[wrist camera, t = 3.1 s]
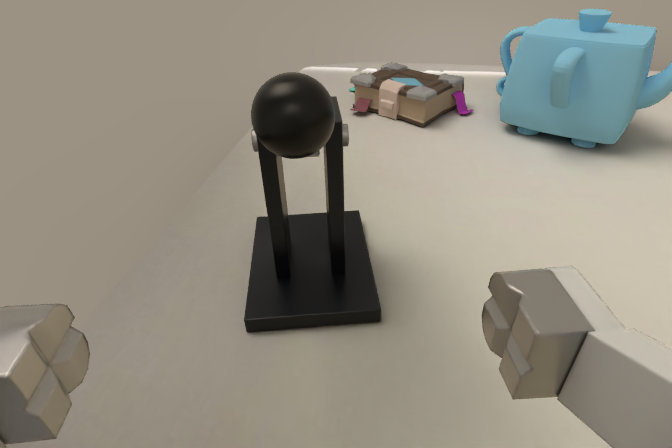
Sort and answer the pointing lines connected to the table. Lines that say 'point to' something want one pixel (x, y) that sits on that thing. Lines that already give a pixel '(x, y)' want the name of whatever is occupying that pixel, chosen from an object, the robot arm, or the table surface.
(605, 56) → the teapot
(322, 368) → the table surface
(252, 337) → the table surface
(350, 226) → the switch bracket
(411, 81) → the book
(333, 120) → the lever
